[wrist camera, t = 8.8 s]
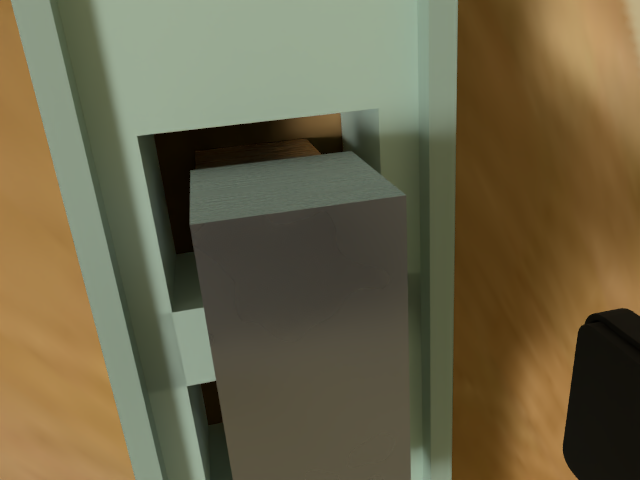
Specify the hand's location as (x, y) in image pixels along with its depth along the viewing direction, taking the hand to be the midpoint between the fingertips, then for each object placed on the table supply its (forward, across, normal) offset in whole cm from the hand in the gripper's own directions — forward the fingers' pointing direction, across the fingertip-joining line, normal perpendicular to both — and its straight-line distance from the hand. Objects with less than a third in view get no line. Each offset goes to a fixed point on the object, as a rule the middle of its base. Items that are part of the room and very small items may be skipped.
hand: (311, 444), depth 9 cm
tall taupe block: (+8, 0, +1) cm, 8 cm away
